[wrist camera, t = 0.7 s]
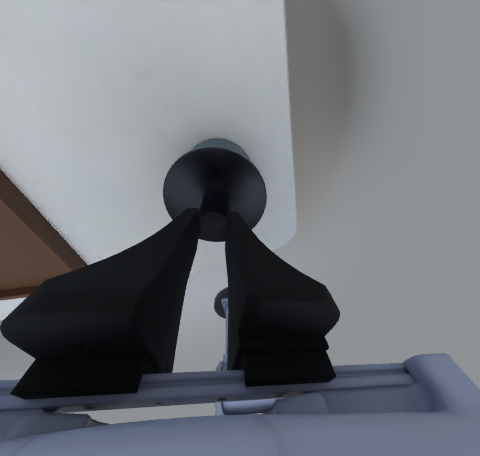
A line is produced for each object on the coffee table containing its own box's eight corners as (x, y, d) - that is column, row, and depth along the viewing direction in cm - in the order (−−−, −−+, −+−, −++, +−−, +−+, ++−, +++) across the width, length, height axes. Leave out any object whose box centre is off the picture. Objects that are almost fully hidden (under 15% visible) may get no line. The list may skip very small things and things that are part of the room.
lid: (274, 218, 16) (289, 250, 12) (198, 245, 17) (190, 282, 13) (245, 125, 11) (254, 131, 8) (145, 170, 13) (111, 195, 9)
